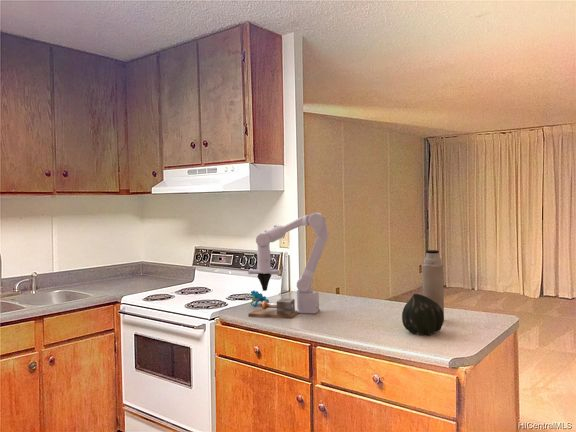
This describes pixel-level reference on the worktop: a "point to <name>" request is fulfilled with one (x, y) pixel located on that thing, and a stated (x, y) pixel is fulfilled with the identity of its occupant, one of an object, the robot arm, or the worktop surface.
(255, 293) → the gear
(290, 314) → the bearing stand
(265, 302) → the shaft
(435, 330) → the squash
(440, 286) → the thermos bottle
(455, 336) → the worktop surface
